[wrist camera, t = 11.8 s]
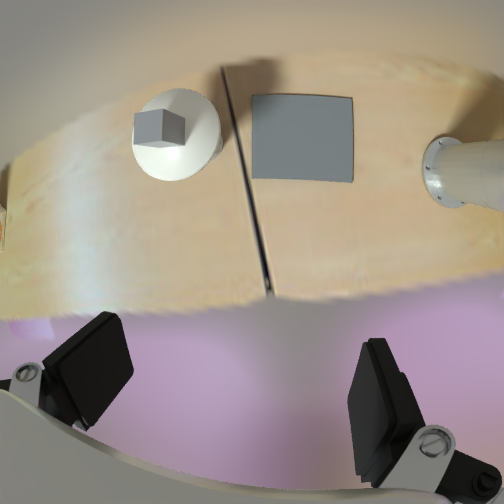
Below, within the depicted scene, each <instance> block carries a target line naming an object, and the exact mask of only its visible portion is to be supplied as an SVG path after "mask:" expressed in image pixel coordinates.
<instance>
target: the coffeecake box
mask: <svg viewBox="0 0 504 504" xmlns="http://www.w3.org/2000/svg"><path fill="white" fill-rule="evenodd" d="M5 220H6V210H5V209H4V208H3V207H2V205H1V204H0V252H2V251H4V231H5Z"/></svg>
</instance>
